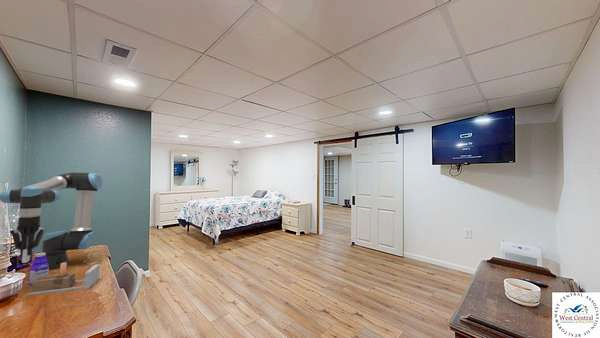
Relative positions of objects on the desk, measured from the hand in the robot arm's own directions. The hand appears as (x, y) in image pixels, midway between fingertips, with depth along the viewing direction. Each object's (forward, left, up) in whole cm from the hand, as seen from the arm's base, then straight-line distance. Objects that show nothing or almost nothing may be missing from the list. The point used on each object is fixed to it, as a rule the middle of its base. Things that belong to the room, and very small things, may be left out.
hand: (25, 261), depth 121 cm
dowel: (0, +15, -14) cm, 21 cm away
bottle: (-12, 0, -17) cm, 21 cm away
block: (0, +12, -15) cm, 20 cm away
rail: (0, +16, -17) cm, 23 cm away
